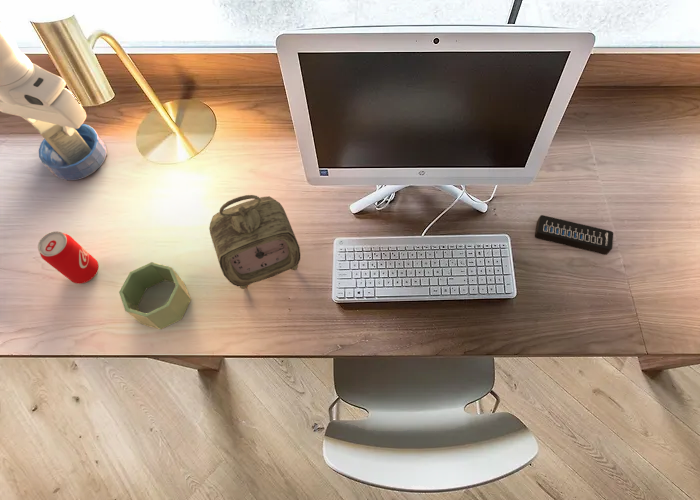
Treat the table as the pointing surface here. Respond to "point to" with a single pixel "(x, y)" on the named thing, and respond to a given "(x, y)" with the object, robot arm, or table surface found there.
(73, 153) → the cosmetic box
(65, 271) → the beverage can
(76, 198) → the table surface
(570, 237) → the multiport hub
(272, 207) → the tabletop clock
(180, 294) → the green octagonal planter
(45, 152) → the bowl
